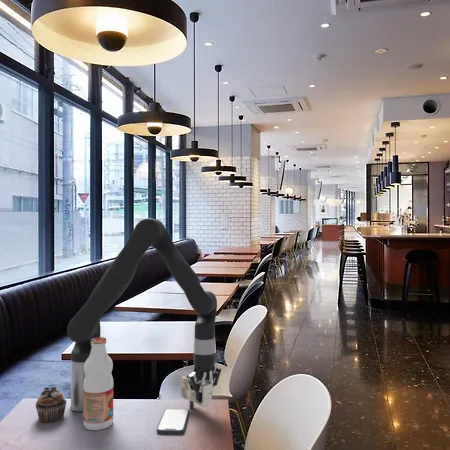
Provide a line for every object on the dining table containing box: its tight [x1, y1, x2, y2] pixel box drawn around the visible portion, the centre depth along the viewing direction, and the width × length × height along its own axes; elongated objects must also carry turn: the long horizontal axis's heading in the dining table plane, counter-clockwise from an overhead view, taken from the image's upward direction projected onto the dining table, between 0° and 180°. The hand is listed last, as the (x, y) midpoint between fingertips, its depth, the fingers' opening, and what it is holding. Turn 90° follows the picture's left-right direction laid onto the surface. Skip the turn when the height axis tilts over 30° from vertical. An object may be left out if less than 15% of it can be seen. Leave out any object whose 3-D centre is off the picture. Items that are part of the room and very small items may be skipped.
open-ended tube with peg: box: [180, 375, 213, 408], centre depth 148 cm, size 12×5×7 cm, turn 41°
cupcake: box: [35, 386, 67, 424], centre depth 142 cm, size 10×10×10 cm
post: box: [188, 372, 195, 409], centre depth 150 cm, size 2×2×12 cm
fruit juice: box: [82, 336, 114, 431], centre depth 138 cm, size 9×9×28 cm
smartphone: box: [156, 408, 190, 435], centre depth 139 cm, size 9×2×16 cm
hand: (204, 400), depth 145 cm, fingers closed on open-ended tube with peg, 3 cm apart
